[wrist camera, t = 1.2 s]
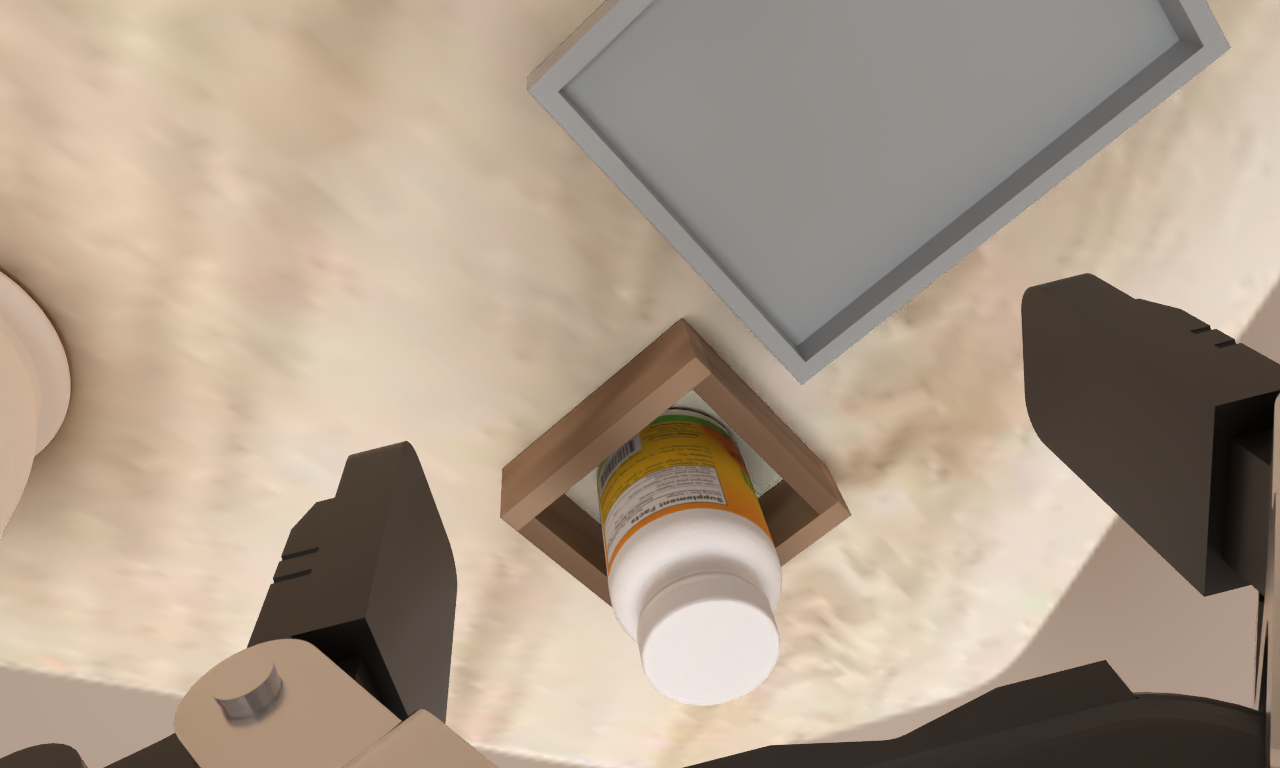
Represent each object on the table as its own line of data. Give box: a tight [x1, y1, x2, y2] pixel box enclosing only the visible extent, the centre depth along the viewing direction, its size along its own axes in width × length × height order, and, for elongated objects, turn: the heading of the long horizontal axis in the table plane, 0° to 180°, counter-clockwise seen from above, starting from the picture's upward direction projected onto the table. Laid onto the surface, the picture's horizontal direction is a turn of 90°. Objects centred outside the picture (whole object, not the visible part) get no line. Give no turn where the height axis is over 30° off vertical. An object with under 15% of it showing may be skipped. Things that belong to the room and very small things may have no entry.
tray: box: [527, 0, 1231, 385], centre depth 28 cm, size 16×13×2 cm
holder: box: [500, 318, 851, 608], centre depth 34 cm, size 9×9×3 cm
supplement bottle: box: [597, 410, 782, 705], centre depth 31 cm, size 5×5×10 cm
